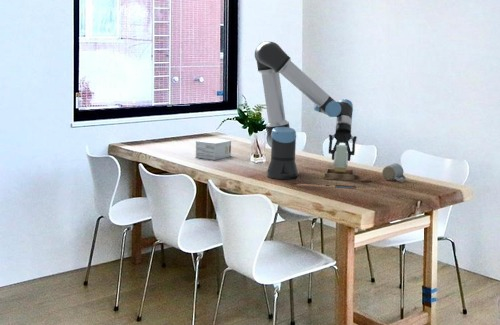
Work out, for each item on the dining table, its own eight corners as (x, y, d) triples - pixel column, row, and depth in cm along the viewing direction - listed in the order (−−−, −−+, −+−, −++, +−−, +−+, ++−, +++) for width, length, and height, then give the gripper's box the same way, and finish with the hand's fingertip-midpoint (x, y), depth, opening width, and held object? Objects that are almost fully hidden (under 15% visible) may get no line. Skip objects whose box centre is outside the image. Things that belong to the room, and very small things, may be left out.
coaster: (334, 187, 306) (335, 186, 306) (335, 183, 314) (335, 182, 314) (355, 188, 304) (355, 187, 304) (355, 184, 313) (355, 183, 313)
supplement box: (214, 160, 372) (215, 143, 371) (195, 157, 379) (195, 141, 377) (231, 156, 387) (231, 140, 385) (212, 154, 393) (212, 138, 392)
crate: (324, 180, 320) (324, 173, 320) (325, 175, 334) (326, 168, 333) (354, 182, 318) (354, 175, 318) (354, 177, 332) (354, 169, 331)
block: (334, 171, 323) (336, 146, 321) (334, 169, 328) (336, 144, 326) (345, 172, 323) (347, 147, 321) (345, 170, 328) (347, 145, 326)
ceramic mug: (380, 179, 327) (381, 164, 325) (389, 177, 333) (390, 162, 331) (400, 183, 320) (401, 167, 318) (408, 181, 326) (410, 165, 324)
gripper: (361, 132, 336) (359, 171, 323) (325, 130, 339) (321, 168, 326) (362, 123, 330) (360, 161, 317) (325, 120, 333) (321, 159, 320)
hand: (340, 165), depth 321 cm, fingers closed on block, 5 cm apart
